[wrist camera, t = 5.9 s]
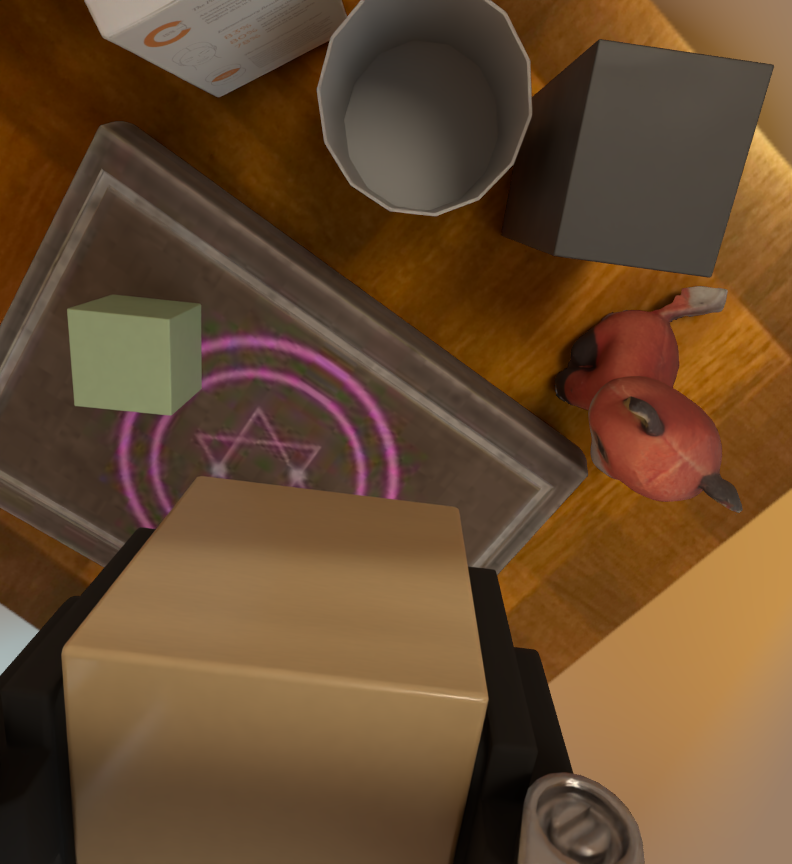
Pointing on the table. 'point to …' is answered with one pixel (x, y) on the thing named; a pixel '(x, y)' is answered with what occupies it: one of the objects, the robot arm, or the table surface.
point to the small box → (217, 35)
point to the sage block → (135, 353)
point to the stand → (636, 157)
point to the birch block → (278, 685)
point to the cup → (425, 101)
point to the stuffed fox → (647, 403)
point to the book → (247, 376)
